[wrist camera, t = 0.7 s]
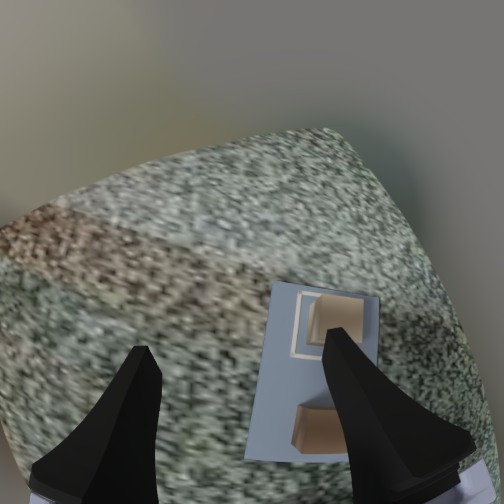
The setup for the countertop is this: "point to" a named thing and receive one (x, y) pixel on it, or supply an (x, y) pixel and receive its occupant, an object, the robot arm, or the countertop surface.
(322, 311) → the maple block
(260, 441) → the board
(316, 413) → the walnut block
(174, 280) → the countertop surface
